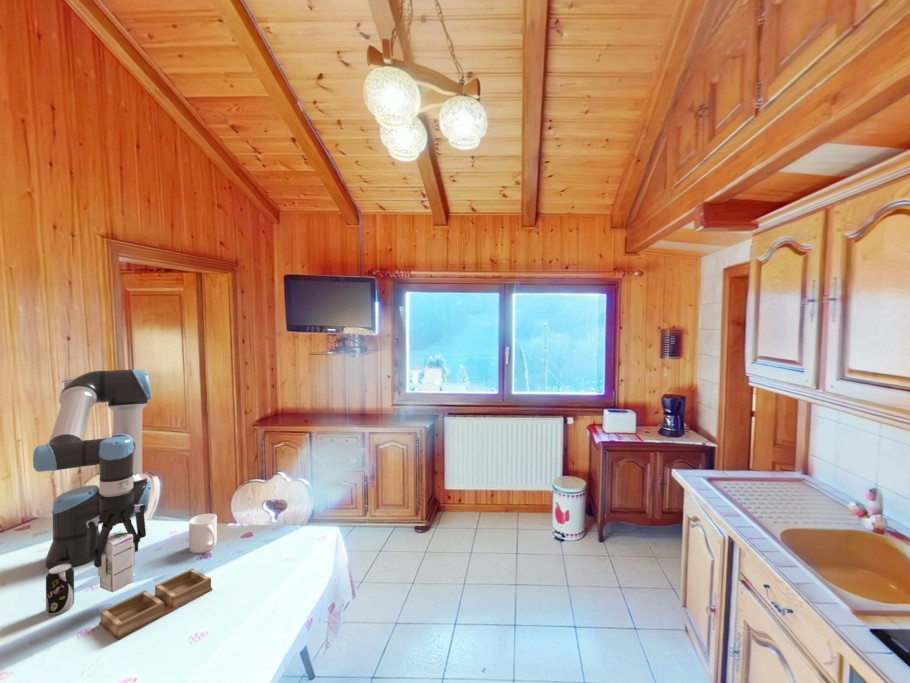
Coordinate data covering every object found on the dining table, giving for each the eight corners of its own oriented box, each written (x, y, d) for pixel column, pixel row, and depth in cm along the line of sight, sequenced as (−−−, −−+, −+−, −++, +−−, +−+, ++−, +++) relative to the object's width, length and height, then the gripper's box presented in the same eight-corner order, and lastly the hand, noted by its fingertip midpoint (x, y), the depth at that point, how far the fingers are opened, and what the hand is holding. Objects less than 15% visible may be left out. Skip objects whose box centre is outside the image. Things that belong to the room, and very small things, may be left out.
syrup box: (134, 581, 120) (134, 533, 120) (111, 593, 115) (112, 543, 114) (121, 576, 122) (121, 529, 121) (98, 588, 116) (98, 538, 116)
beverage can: (41, 618, 112) (41, 575, 111) (52, 605, 117) (52, 564, 117) (68, 613, 114) (68, 571, 114) (77, 600, 119) (77, 560, 119)
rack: (99, 624, 110) (99, 611, 110) (192, 578, 131) (192, 567, 131) (117, 640, 105) (117, 626, 104) (212, 589, 125) (212, 578, 125)
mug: (200, 559, 142) (200, 529, 141) (184, 549, 148) (184, 520, 148) (225, 549, 149) (226, 520, 148) (209, 539, 155) (209, 511, 155)
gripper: (78, 507, 107) (79, 593, 108) (160, 483, 124) (160, 557, 125) (67, 500, 111) (67, 583, 112) (148, 478, 127) (148, 550, 128)
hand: (116, 569), depth 118 cm, fingers closed on syrup box, 6 cm apart
